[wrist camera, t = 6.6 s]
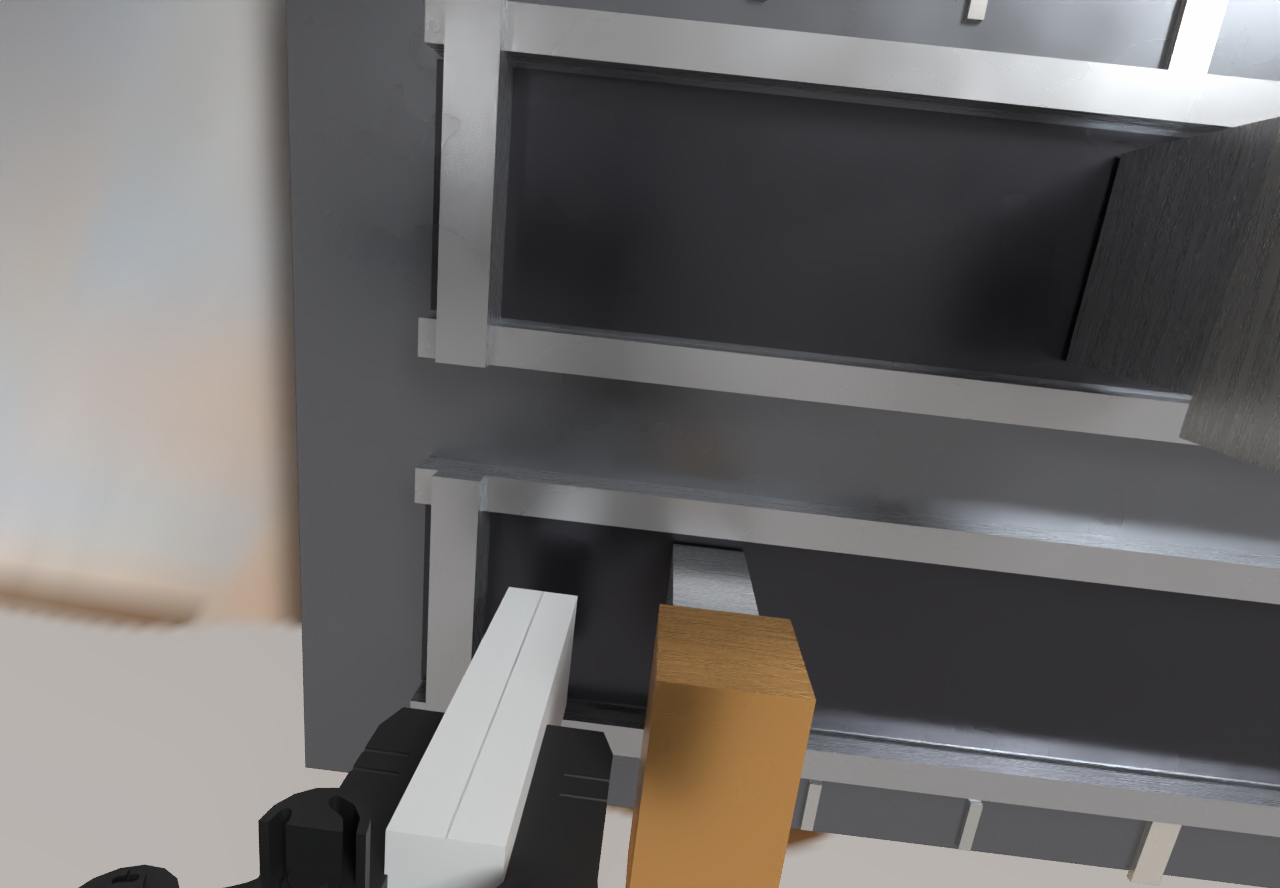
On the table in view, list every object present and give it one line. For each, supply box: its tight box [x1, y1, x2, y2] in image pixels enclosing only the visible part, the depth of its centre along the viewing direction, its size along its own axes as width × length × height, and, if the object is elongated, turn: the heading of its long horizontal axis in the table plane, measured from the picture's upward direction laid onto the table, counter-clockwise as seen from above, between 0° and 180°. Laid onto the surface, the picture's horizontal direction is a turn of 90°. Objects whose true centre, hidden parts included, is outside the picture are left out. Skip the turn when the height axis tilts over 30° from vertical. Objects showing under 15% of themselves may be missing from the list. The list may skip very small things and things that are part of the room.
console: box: [286, 0, 1280, 888], centre depth 15 cm, size 30×20×3 cm
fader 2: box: [1066, 117, 1280, 473], centre depth 11 cm, size 2×5×6 cm, turn 174°
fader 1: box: [626, 544, 816, 888], centre depth 13 cm, size 2×5×6 cm, turn 174°
